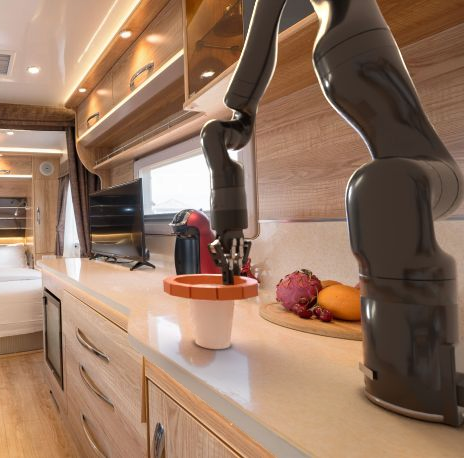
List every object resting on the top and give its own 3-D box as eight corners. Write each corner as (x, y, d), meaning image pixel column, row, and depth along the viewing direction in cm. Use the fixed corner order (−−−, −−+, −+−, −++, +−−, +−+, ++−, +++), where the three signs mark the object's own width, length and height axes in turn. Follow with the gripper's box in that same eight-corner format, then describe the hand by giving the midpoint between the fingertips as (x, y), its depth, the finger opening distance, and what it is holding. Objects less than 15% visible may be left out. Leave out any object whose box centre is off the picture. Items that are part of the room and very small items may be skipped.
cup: (226, 336, 74) (223, 283, 74) (244, 351, 65) (241, 290, 65) (184, 337, 75) (182, 284, 75) (196, 352, 66) (194, 292, 66)
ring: (276, 291, 67) (275, 279, 67) (221, 305, 58) (221, 291, 58) (200, 281, 83) (199, 271, 83) (147, 291, 74) (147, 280, 74)
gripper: (225, 207, 68) (228, 292, 68) (262, 207, 75) (266, 283, 75) (194, 210, 74) (197, 287, 74) (231, 209, 81) (234, 280, 81)
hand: (231, 285), depth 74 cm, fingers closed on ring, 2 cm apart
